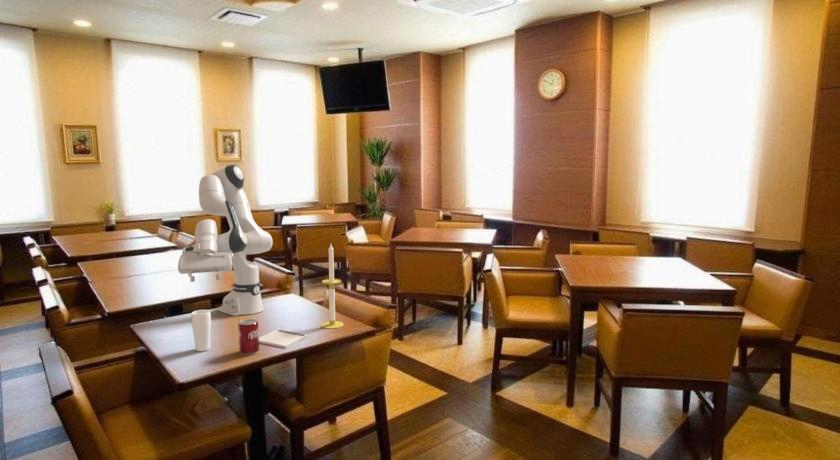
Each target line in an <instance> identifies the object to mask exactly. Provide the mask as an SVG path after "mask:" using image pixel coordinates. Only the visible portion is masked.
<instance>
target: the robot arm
mask: <svg viewBox="0 0 840 460" xmlns="http://www.w3.org/2000/svg"><path fill="white" fill-rule="evenodd" d="M244 181H245V175H244V172H243V170H242V169H241V167H239V166H238V165H236V164H229V165H226V166H224V167H222V168H220V169H217V170H216V171H214V172H213V173H211V174H206V175H204V176H202V177H201V178H200V180H199V185H198V199H199V200H198V201H199V206H200V208H201V210H202V211H203V212H204V213H206V214H208V215H212V216H223V217H226V219H227V223H228V226H229V230H228V231H227V232H224V233H221V234H218V227H217V222H216V221H215V220H213V219H210V218H205V219H201V220H199V221H198V222H197V223H196V226H195V231H194V240H195V243H194V244H193V245H190V246H186V247H183V248H182V249H181V252H182V253H181V255H180V256H179V258H178V263H177V271H178V273H180V275H188V277H189V278H190V283H191V282H196V281H195V280H196V276H195V275H193V274H201V273H203V274H204V273H215V272H218V274H215V280H216V281H221V277H222V275H223V274H224V272H230V271H232V269H233V273H234V283H232V284H230V285H231V286H230V288H231V287H232V290H231V291H230V292H229V293H228V294H227V295H225V296H224V297H223V299H222V305H221V306H219V307H218V308H217V311H218V312H221V313H224V314H227V315H231V316H234V317H235V316H242V315H243V316H244V315H245V316H246V315H254V314H257V313H260V312H262V311H264V309H265V308H264V304H263V301H262V293H261V281H260V270H259V266H258V265H257V264H256V263H255V262H252V261H250V260H248V259H247V257H246V256H248V255H257V254H262V253H266V252H269V251H270V250H271V249H272V246H273V242H274V241H273V237H272V235H271V234H270V232H268V231H265V230H263V228H262V227H260V226H259V225H258V224H257V223H256V221H255V220H254V217H253V214H252V210H251V205H250V201H249V199H248V197H247V196H248V195H247V194H246V192H245V190H244V189H243V187H244Z"/></svg>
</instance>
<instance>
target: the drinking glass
mask: <svg viewBox="0 0 840 460" xmlns="http://www.w3.org/2000/svg"><path fill="white" fill-rule="evenodd" d="M211 314H212V313H211V310H210V309H198V310H194V311H192V312H191V325H192V326H191V327H192V332H193V338H194V345H195V348H194V349H195V351H196V352H205V351H208V350H210V349H211V331H212V316H211Z"/></svg>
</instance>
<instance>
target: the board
mask: <svg viewBox="0 0 840 460" xmlns="http://www.w3.org/2000/svg"><path fill="white" fill-rule="evenodd" d="M308 338H309V334H308V333H307V334H305V333H301V332H296V331H290V330H285V329H280V328H278V329H276V330H273V331H271V332H268V333H267V334H264V335H262V336H259V344H263V345H269V346H272V347H277V348H283V349H287V348H289V347H292V346H293V345H295V344H297V343H300V342H302V341H303V340H306V339H308Z"/></svg>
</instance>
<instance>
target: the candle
mask: <svg viewBox="0 0 840 460" xmlns="http://www.w3.org/2000/svg"><path fill="white" fill-rule="evenodd" d="M334 257H335V256H334V247H333V246H332V243H330V245H329V248H328V278H327V279H323V280H322V281H321V283H322V284H325V285H328V307H329V308H328V309H329V310H328V312H329V317H328V318H329V321H325V322H323V323H321V324H320V325H321V328H322V327H323V329H326V330H328V329H329V330H336V329H340V328H342V327H344V326H345V325H344V323H343V322H342V321H337V320H336V300H335V299H336V296H335V295H336V294H335V293H336V292H335V291H336V288H335V286H336V284H339V283H342V280H341V279H339V278H335V265H334V264H335V263H334V262H335V260H334ZM335 328H336V329H335Z"/></svg>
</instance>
